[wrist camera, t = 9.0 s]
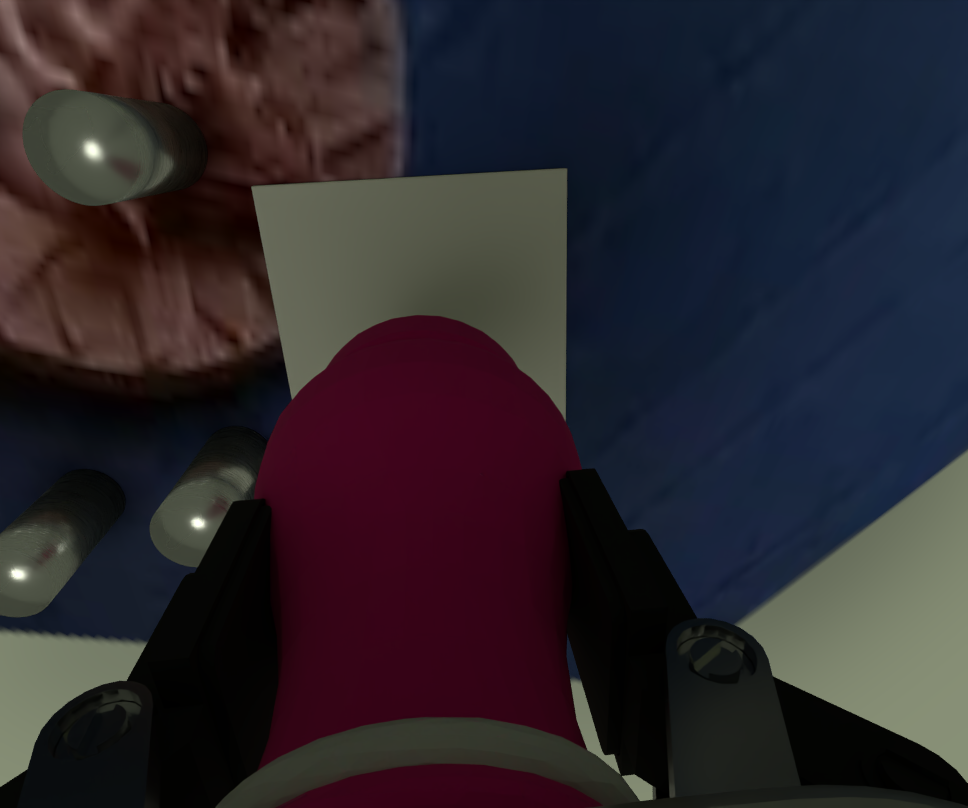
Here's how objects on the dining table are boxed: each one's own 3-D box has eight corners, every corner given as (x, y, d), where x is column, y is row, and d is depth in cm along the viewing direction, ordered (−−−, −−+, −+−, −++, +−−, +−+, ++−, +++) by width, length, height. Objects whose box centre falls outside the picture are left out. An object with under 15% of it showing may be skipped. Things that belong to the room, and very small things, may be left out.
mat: (563, 168, 24) (567, 168, 23) (562, 438, 29) (565, 443, 28) (255, 185, 23) (251, 186, 23) (307, 459, 28) (305, 466, 28)
